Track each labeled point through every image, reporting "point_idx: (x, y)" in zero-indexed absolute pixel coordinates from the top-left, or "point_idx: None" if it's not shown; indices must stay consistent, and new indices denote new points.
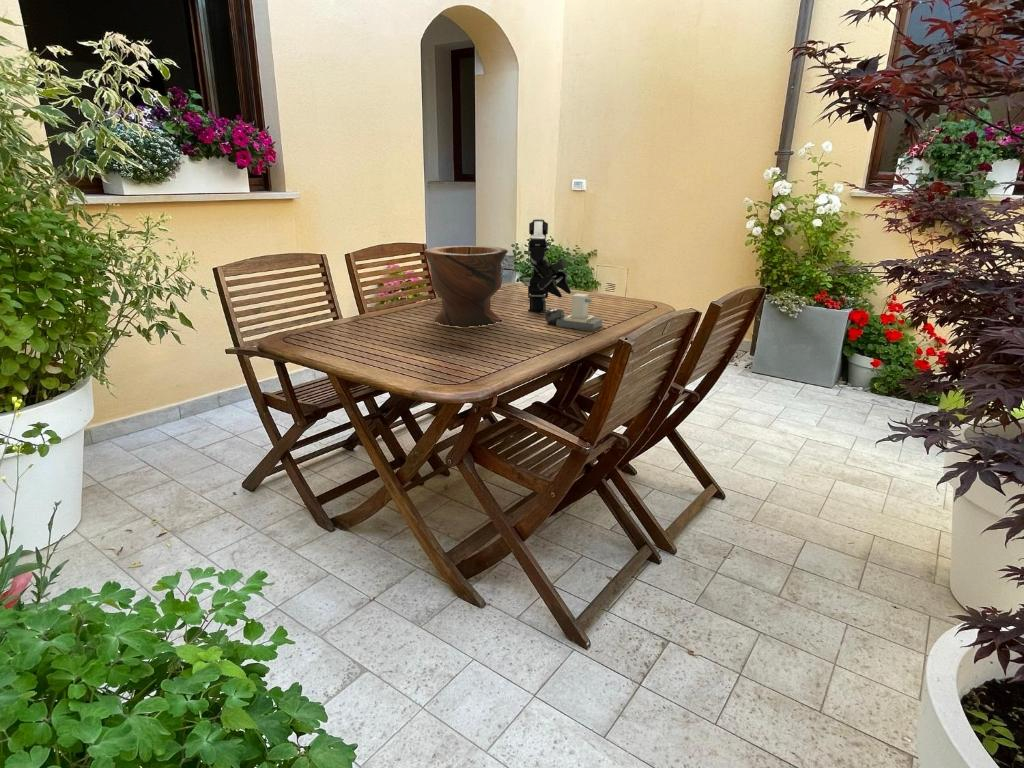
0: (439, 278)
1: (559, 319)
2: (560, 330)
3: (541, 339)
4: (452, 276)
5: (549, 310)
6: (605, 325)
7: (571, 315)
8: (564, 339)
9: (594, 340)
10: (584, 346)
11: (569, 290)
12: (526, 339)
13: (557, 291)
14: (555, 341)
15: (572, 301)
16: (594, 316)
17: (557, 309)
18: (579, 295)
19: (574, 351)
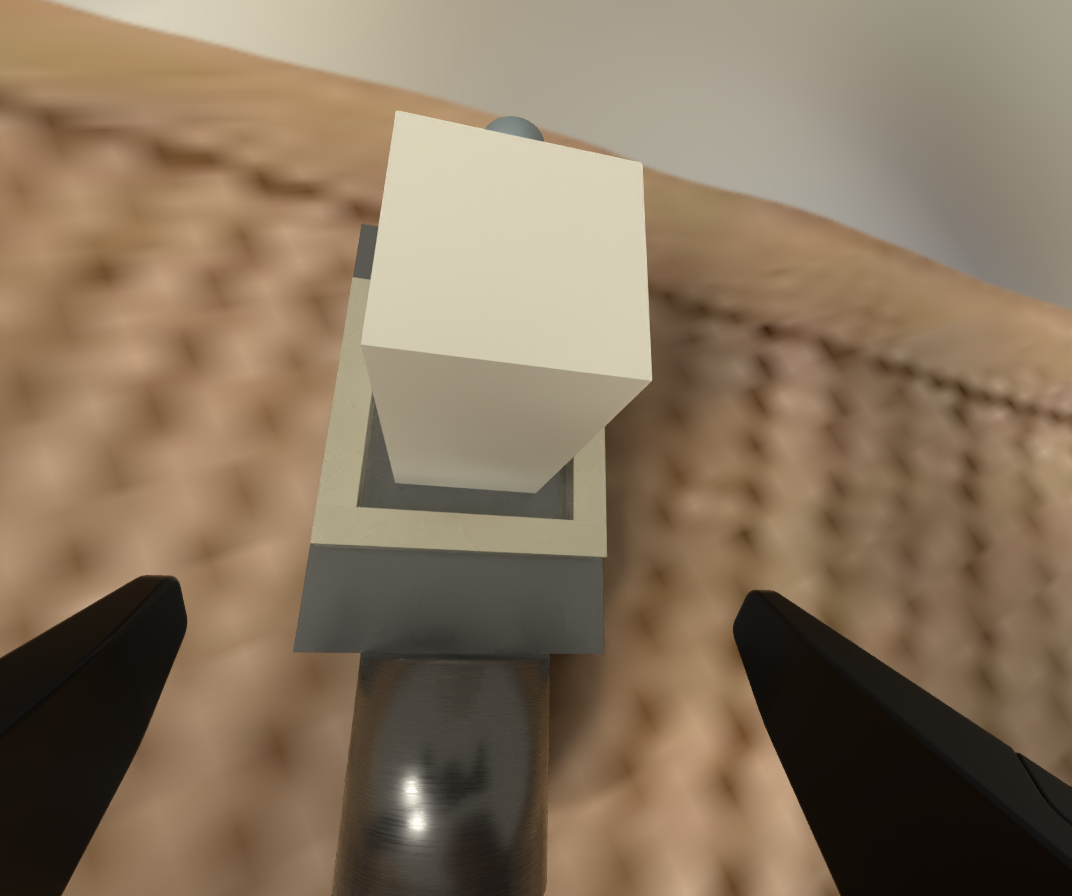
0: None
1: (587, 622)
2: (681, 551)
3: (976, 581)
4: None
5: (513, 868)
6: (332, 248)
7: (451, 519)
8: (878, 429)
9: (786, 252)
10: (922, 280)
11: (130, 625)
12: (1046, 690)
13: (940, 721)
14: (951, 469)
15: (603, 418)
16: (364, 282)
17: (462, 744)
18: (584, 248)
19: (1024, 307)
